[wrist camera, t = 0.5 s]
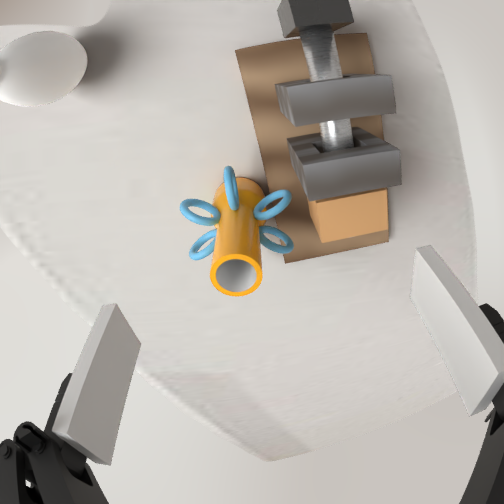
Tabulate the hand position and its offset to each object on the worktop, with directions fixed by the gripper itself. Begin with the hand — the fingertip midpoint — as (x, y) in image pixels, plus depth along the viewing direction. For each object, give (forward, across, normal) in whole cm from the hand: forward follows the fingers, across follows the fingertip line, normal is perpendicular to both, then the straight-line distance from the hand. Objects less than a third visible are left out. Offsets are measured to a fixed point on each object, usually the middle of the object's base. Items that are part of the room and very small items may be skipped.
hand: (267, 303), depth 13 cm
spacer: (+20, +8, -5) cm, 22 cm away
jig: (+25, +8, -1) cm, 26 cm away
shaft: (+21, +8, +4) cm, 22 cm away
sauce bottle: (+25, -18, +17) cm, 35 cm away
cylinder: (+25, -3, -5) cm, 26 cm away
